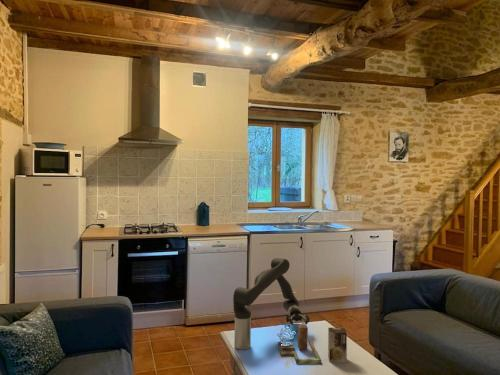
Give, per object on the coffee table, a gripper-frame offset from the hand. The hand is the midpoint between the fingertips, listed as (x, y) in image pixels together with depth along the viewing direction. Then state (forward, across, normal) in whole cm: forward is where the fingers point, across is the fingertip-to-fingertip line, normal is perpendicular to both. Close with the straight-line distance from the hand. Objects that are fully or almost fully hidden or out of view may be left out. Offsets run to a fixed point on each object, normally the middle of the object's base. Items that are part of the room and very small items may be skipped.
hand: (299, 323), depth 220 cm
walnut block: (+12, 0, +10) cm, 16 cm away
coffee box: (+26, +16, +10) cm, 32 cm away
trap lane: (+17, -4, +10) cm, 20 cm away
